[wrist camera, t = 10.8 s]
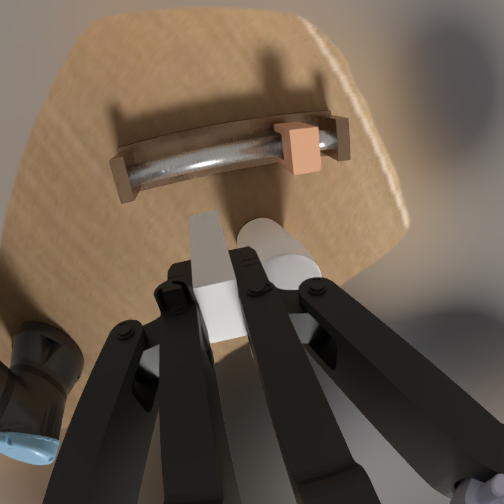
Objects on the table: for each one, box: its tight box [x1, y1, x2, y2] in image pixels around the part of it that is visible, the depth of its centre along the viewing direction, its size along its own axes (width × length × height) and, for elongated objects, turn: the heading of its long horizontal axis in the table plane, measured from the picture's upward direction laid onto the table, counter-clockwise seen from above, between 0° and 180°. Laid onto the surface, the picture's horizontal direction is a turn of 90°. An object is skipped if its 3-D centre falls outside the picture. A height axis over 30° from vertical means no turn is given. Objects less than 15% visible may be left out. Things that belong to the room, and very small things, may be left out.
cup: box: [237, 218, 322, 290], centre depth 38 cm, size 9×9×12 cm
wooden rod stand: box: [109, 110, 350, 204], centre depth 33 cm, size 27×6×6 cm, turn 98°
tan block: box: [274, 121, 321, 175], centre depth 31 cm, size 3×5×6 cm, turn 8°
